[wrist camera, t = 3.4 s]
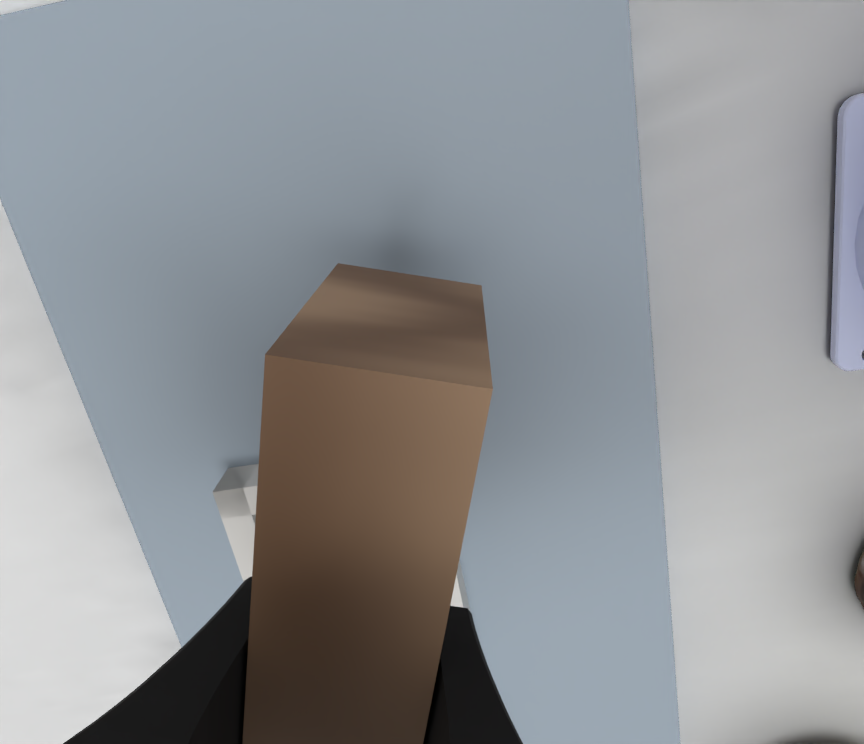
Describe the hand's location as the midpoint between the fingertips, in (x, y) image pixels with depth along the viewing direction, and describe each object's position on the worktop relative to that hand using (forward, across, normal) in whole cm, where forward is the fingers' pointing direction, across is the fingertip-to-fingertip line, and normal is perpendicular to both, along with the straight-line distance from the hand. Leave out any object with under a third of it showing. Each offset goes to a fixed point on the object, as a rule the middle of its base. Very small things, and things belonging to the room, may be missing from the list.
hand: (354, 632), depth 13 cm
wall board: (+10, 0, +2) cm, 10 cm away
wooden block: (+3, 0, 0) cm, 3 cm away
